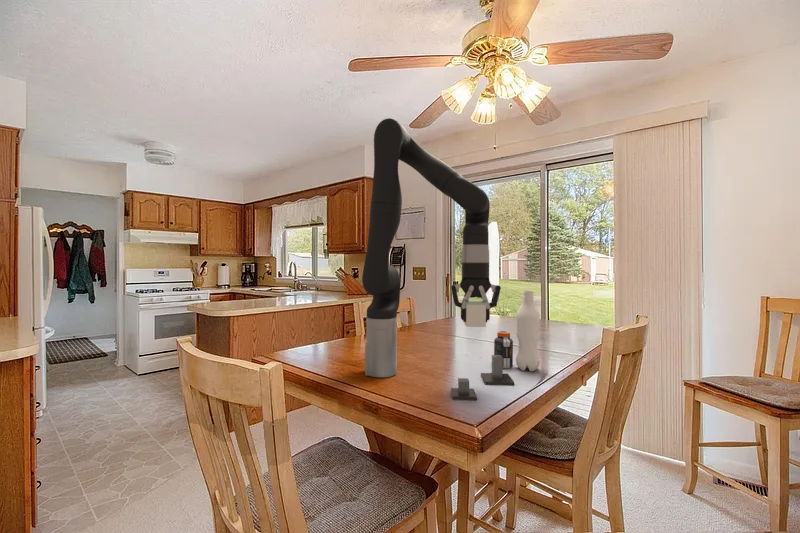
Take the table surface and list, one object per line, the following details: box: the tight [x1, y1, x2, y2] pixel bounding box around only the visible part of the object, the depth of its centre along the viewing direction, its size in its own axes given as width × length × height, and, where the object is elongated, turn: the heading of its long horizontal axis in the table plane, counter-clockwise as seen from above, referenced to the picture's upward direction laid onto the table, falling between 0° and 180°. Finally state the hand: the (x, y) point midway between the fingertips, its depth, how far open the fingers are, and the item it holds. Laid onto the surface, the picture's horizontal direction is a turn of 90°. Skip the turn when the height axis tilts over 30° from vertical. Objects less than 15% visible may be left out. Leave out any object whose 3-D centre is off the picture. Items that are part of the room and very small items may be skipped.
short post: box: [450, 377, 478, 401], centre depth 96 cm, size 6×6×4 cm
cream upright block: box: [464, 300, 487, 328], centre depth 105 cm, size 5×5×7 cm
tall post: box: [480, 354, 515, 386], centre depth 108 cm, size 8×8×7 cm
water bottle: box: [515, 290, 541, 372], centre depth 120 cm, size 7×7×25 cm
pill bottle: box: [493, 330, 514, 369], centre depth 123 cm, size 6×6×11 cm
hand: (475, 321), depth 105 cm, fingers closed on cream upright block, 5 cm apart
